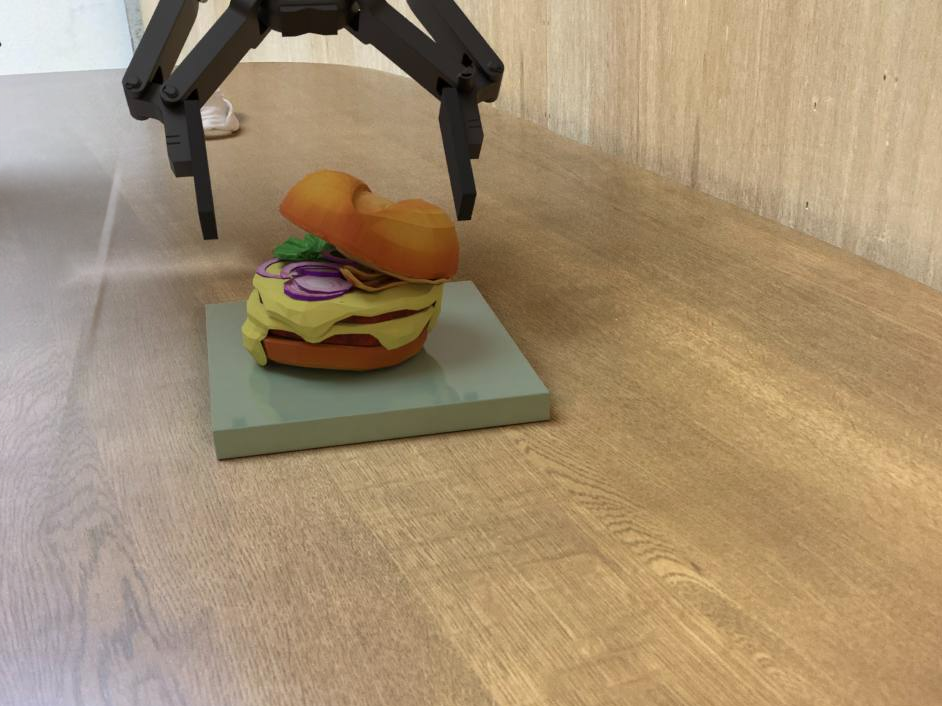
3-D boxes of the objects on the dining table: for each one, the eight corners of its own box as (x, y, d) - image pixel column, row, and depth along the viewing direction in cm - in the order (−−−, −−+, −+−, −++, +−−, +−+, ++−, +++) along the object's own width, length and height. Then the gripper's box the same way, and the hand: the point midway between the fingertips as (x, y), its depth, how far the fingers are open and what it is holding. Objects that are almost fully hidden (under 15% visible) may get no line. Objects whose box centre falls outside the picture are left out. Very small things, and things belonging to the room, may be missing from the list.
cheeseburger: (216, 331, 62) (234, 143, 58) (398, 345, 68) (426, 173, 64) (264, 395, 54) (289, 182, 51) (466, 404, 60) (502, 212, 56)
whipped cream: (240, 147, 115) (238, 97, 112) (170, 144, 113) (166, 93, 110) (239, 126, 121) (237, 77, 118) (173, 123, 119) (169, 74, 117)
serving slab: (208, 328, 68) (204, 304, 67) (472, 303, 71) (471, 279, 70) (216, 460, 53) (211, 430, 52) (550, 420, 56) (550, 392, 55)
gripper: (39, -172, 59) (77, 194, 54) (509, -171, 64) (582, 161, 59) (70, -61, 66) (106, 270, 61) (491, -69, 71) (554, 235, 67)
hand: (341, 217), depth 60 cm, fingers open, 13 cm apart
